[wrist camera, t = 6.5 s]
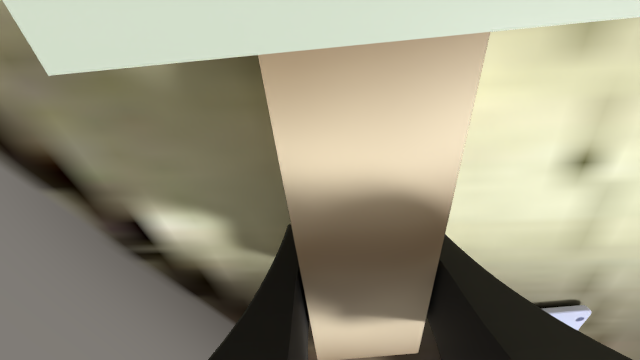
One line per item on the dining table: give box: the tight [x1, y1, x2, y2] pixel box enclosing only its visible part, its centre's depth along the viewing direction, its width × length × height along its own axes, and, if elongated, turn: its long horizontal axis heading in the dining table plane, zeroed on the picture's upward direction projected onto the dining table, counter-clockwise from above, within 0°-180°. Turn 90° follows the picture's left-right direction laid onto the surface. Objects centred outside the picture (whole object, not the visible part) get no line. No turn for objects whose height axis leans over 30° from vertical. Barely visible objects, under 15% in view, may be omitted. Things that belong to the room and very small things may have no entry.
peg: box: [258, 32, 490, 360], centre depth 10 cm, size 12×4×5 cm, turn 5°
